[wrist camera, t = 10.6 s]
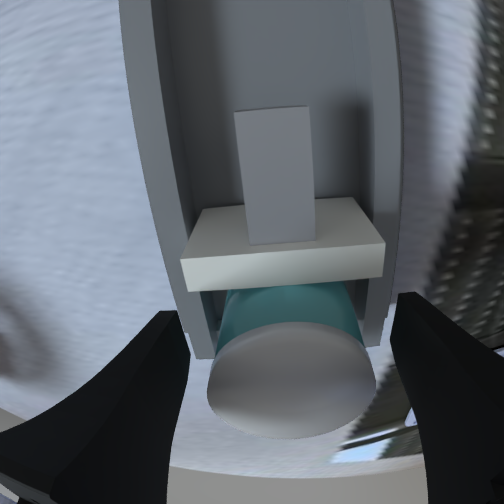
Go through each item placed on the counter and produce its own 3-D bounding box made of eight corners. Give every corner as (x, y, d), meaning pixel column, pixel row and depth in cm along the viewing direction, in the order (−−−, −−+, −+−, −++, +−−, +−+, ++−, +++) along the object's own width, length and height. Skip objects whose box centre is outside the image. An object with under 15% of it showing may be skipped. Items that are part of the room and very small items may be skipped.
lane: (359, -101, 7) (383, -139, 3) (382, 306, 17) (403, 356, 14) (124, -78, 8) (88, -110, 4) (188, 321, 18) (173, 373, 14)
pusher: (349, 100, 11) (389, 107, 7) (352, 223, 13) (382, 276, 10) (187, 113, 11) (153, 126, 8) (207, 234, 14) (187, 291, 10)
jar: (346, 226, 14) (396, 339, 8) (332, 317, 16) (354, 436, 10) (228, 223, 14) (197, 339, 8) (232, 316, 16) (214, 436, 10)
